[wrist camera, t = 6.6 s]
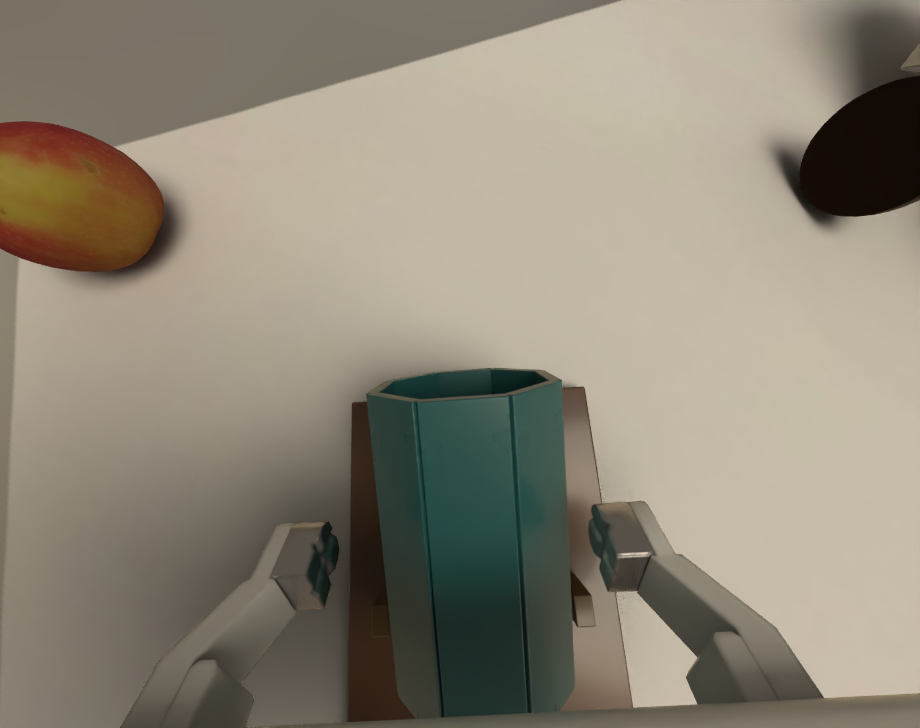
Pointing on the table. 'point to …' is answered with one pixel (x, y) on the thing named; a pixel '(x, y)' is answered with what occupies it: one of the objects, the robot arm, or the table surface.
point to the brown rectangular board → (592, 605)
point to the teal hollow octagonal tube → (475, 540)
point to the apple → (73, 200)
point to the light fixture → (868, 151)
